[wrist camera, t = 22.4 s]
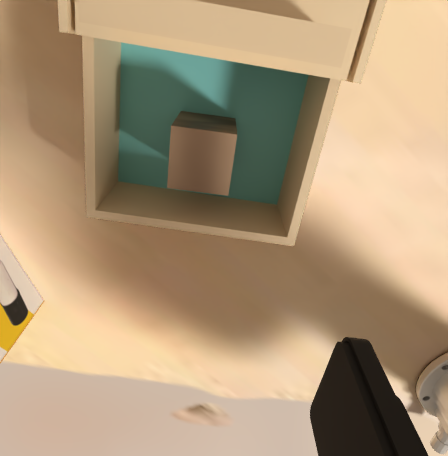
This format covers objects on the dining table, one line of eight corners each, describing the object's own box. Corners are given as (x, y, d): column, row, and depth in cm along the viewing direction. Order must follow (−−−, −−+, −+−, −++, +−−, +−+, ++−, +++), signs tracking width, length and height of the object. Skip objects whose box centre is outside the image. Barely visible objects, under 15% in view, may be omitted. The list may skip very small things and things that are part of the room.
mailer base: (281, 209, 34) (294, 246, 28) (112, 184, 33) (86, 217, 27) (355, -85, 24) (400, -129, 18) (117, -133, 23) (76, -198, 17)
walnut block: (235, 118, 30) (237, 134, 24) (227, 170, 32) (228, 195, 26) (181, 110, 29) (170, 125, 24) (177, 163, 31) (167, 188, 26)
